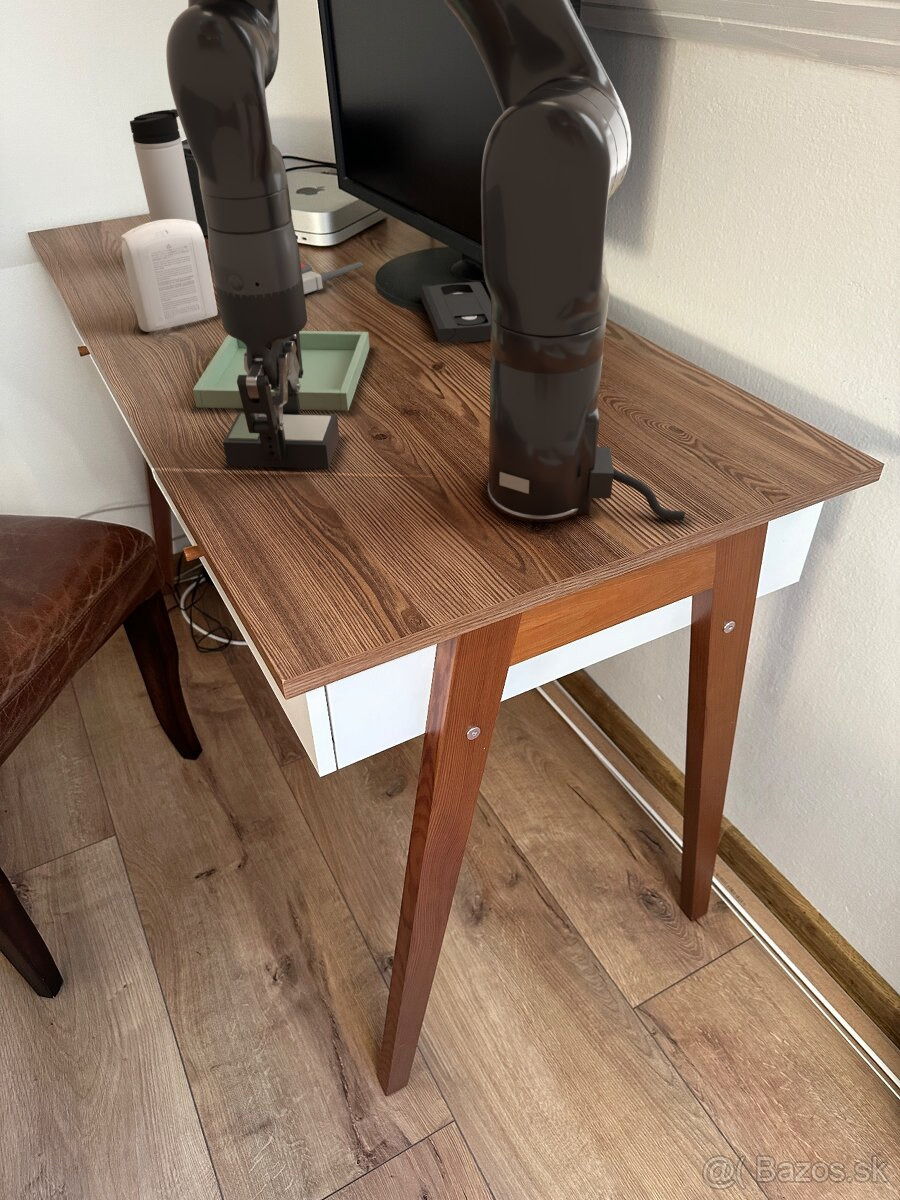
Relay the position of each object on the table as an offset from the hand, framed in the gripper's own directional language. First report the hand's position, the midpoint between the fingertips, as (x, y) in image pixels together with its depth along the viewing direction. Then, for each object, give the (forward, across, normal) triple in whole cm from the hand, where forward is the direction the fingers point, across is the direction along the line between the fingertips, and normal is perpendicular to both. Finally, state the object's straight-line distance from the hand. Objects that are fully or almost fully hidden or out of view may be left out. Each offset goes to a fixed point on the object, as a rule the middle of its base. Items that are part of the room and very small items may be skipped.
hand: (284, 443), depth 88 cm
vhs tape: (+1, +34, -15) cm, 37 cm away
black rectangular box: (+1, 0, 0) cm, 1 cm away
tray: (+1, +16, +3) cm, 17 cm away
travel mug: (+2, +53, +27) cm, 59 cm away
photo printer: (+2, +32, +21) cm, 38 cm away
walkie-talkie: (+2, +44, +9) cm, 45 cm away
